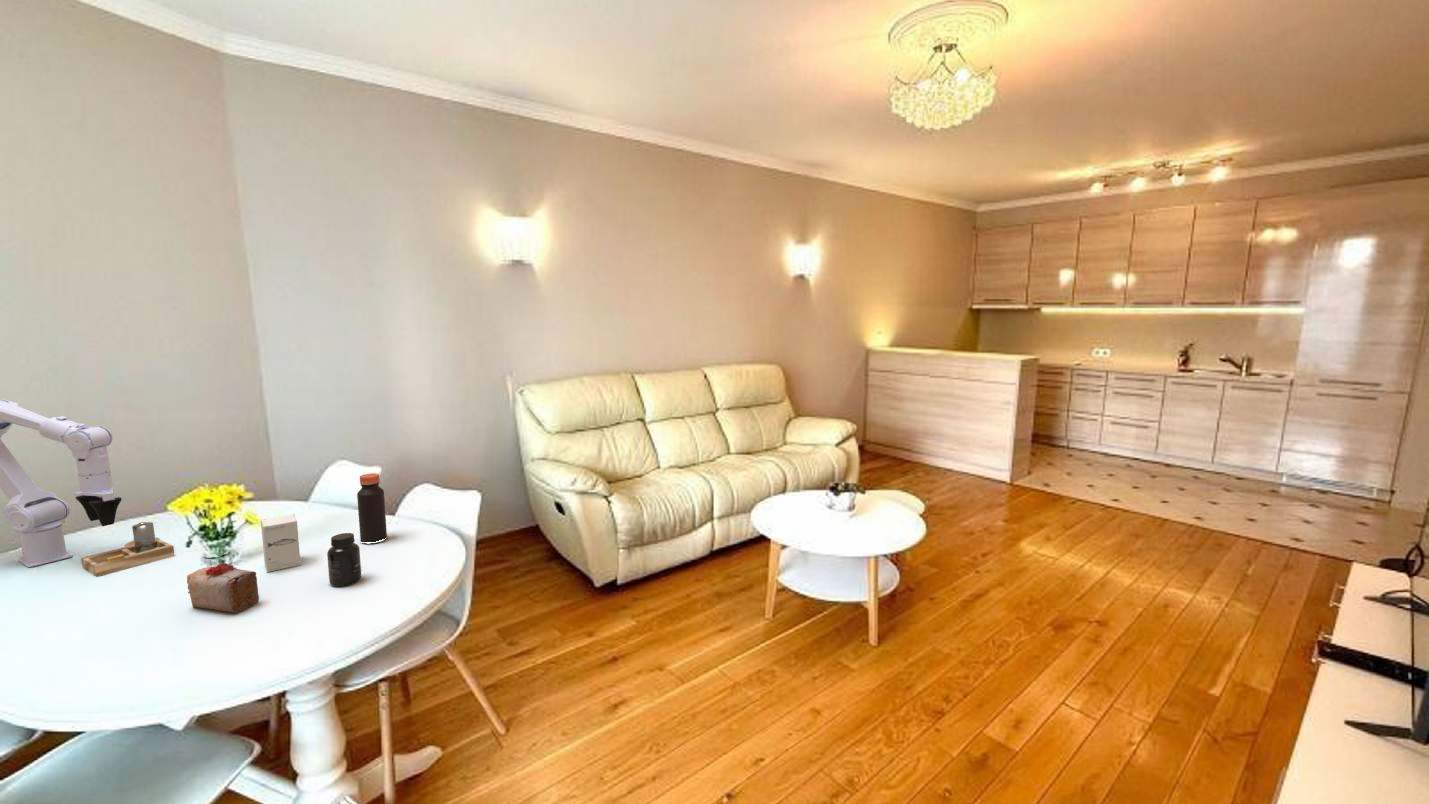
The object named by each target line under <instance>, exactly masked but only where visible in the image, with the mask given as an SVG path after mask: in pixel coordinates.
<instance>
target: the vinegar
mask: <svg viewBox="0 0 1429 804" xmlns="http://www.w3.org/2000/svg"><path fill="white" fill-rule="evenodd" d="M359 484H360V486H361V488H360V489H359V491H357V494H356V498H357V511H358V525H359V539H360V543H361V542H376V541H379V540H382V539H385V538H386V537H387V538H388V534H387V531H388V530H387V519H386V518H387V517H386V503H385V489H383V488H382V487H380V486H379V484H380V474H379V473H376V472H375V473H365V474H364V473H363V474H361V475H359ZM385 540H386V539H385Z"/></svg>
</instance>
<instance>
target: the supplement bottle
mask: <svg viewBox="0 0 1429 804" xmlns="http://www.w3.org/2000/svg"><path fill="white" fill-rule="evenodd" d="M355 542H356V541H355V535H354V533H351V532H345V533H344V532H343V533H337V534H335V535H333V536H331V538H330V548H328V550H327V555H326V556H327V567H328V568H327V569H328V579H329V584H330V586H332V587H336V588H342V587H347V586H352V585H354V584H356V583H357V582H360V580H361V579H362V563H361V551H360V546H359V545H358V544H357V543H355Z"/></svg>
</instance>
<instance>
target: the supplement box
mask: <svg viewBox="0 0 1429 804" xmlns="http://www.w3.org/2000/svg"><path fill="white" fill-rule="evenodd" d="M260 528H261V537H262V549H263V558H264V559H263V560H264V565H265V570H266V573H270V572H273V571H274V572H275V571H278V570H283V569H288V568H293V567H297V566H298V567H299V566H301V565H302V564H301V552H300V542H299V532H298V520H297V518H296V514H295V513H293V514H287V515H281V516H275V517H267V518H262V519H260Z"/></svg>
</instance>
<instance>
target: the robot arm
mask: <svg viewBox="0 0 1429 804" xmlns="http://www.w3.org/2000/svg"><path fill="white" fill-rule="evenodd" d="M13 425H16V426H20V427H25V428H28V429H32V430H35V431H39V434H40V436H42V437H43V438H46V439H49V440H52V441H55V442H58V443H62V444H65V445H66V447H67V448H68V449H69V450H70V451H71V453H72V457H73V458H74V459H75V461H76V467H77V474H78V482H79V487H80V490H79V491H75V492H74V496H75V499H76V501H78V502H79V504H80V505H81V506H82V507H83V509H84V511H85V513H86V515H87V518H88V519H89V521H90V522H93V521H99V523H100V525H101V526H102V527H106V526H111V525H114V524H115V520H116V515H117V510H118V508H119V505H120V504H121V502H122V497H120V496H117V497H115V493H114V490H115V486H113V479H112V474H111V467H110V459H109V452H108V451H109V450H108V446H110V445H111V444H112V442H113V435H112V431H110V430H109V429H108V428H106V427H104V426H103V425H94V426H88V425H86V424H85V423H78V422H75V421H73V420H69V419H68V417H66V416H63V415H61V416H53V417H50V418H49V417H46V416H43V415H41V414H39V413H37V412H34V411H31V410H28V409H26V408H23V407H21V406H20V404H19V403H18V402H16V401H15V402H14V401H10V400H8V399H0V490H1V491H2V492H3V494H4V495H6V497H7V498H8V499H9V501H8V503H6V505H5V507H4V508H2V509H3V510H2V513H4V515H5V517H6V520H7V524H8V526H9V527H10V528H11V529H12V530H13V531H15V532H16V533H19V534H20V535H19V540H20V547H21V553H22V557H17V561H18V562H20V563H21V564H23V565H24V566H26V567H27V568H32V567H37V566H40V565H44V564H45V565H46V564H48V563H53V562H57V561H60V560H61V561H62V560H65V559H69V558H72V557H73V554H72V553H71V552H68V551H67V547H66V540H65V536H64V535H65V534H64V528H63V524H65V523H66V521H65V520H66V519H67V518H68V517H69V515H70V510H71V509H70V506H69V504H68V503H67V502H66V501H65V500H63V499H62V498H60V497H59V496H58V495H57V494H56V493H55V492H52V491H48V490H44V489H40V488H39V486H38V485H37V484H36V483H35V482H34V481H33V479H32V477H31V476H30V475H29V473H28V472H26V470H25V469H24V467H22V465H21V463H20V462H19V461H18V459H17V458H16V457H15V456H14V455H13V454H12V452H11V450H10V449H9V448H8V447H7V446H6V444H5V443H4V441H2V437H3V435H5V434H6V433H7V432H8V430H10V428H11V427H12V426H13Z"/></svg>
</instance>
